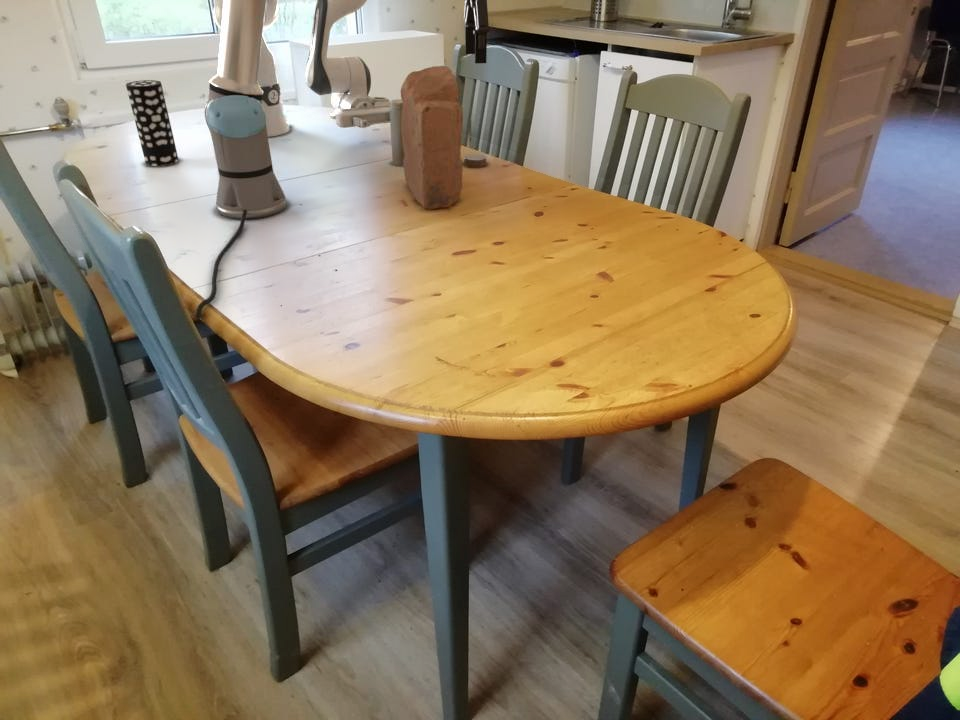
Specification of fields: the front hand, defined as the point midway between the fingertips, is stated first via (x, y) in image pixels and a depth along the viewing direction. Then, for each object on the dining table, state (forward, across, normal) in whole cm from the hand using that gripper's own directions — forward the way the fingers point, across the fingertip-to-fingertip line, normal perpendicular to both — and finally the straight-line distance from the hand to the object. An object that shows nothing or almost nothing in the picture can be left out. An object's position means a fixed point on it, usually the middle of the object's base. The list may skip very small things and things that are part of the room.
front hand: (475, 58), depth 174 cm
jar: (+27, +4, +19) cm, 33 cm away
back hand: (+19, +16, +24) cm, 34 cm away
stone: (+27, -23, +14) cm, 38 cm away
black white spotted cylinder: (+17, +15, +83) cm, 86 cm away
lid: (+25, 0, 0) cm, 25 cm away
